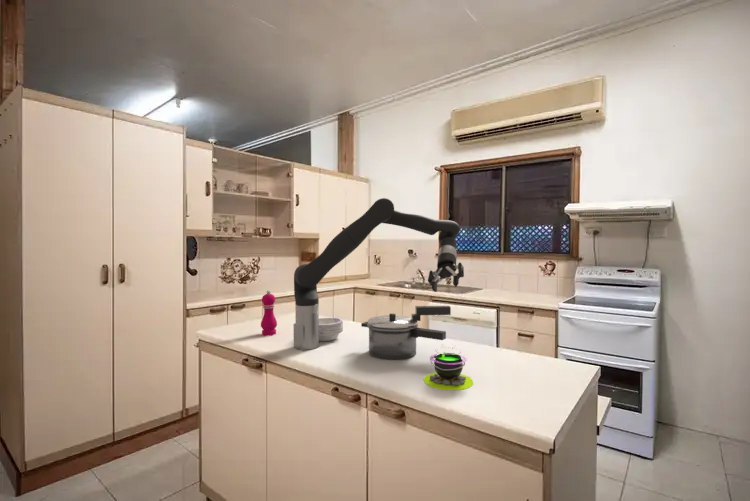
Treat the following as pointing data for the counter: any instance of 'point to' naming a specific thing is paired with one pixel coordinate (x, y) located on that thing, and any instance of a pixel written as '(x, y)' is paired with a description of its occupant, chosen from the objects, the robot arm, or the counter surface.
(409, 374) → the counter surface
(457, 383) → the toy cauldron
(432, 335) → the cooker pot
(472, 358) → the counter surface
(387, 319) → the lid
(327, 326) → the paper bowls
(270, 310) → the pepper mill
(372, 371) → the counter surface
